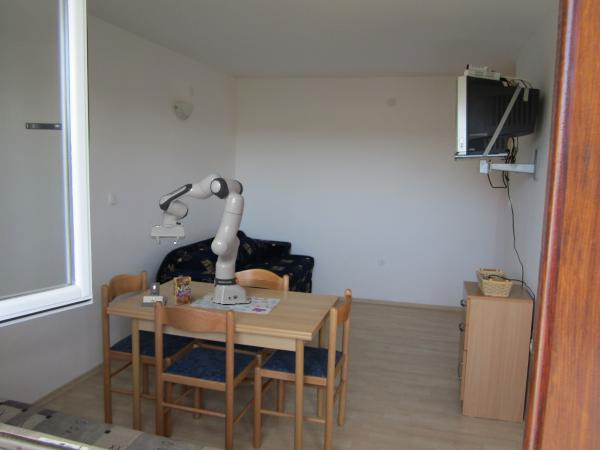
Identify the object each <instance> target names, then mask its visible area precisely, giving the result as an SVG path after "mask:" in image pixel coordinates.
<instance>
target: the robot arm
mask: <svg viewBox="0 0 600 450" xmlns="http://www.w3.org/2000/svg"><path fill="white" fill-rule="evenodd" d="M243 192H244V186H243V183H241V182H240V181H238V180H236V179H231V178H228V177H222V176H221V175H220V174H219V173H217V172H212V173H210V174H208V175H206V176H205V177H203V178H202V179H200V180H199V181H197V182H194V183H187V184H184V185H183V186H180V187H179V188H177V189H175V190H173V191H172V192H169V193H168V194H164V195H162V196H161V197H160V198H159V201H158V205H159V208H160V210H162V221H161V225H153V226H151V227H150V231H151V232H150V238H151V239H152V240H156V242H157V245H161V240H174V241H173V243H174V245H175V246H176V245H178V242H180V240H185V239H186V229H185V226H184V223H183V222H180V220H182V219H184V218H186V217H187V216H188V214H189V206H188V205H187V204H186V203H184V202H182V201H181V200H180V199H182V198H184V197H191V198H195V199H197V200H202V201H203V200H207V199H209V198H210V197H212V196H213V195H214V196H216V197H217V198H219V199H220V200H224V203H225V204H224V207H223V213H222V216H221V221H220V225H219V227H218V230H217V231H216V235H215V237H214V239H213V241H212V243H211V246H210V248H211V251H212V252H213V254H215V255H217V256H218V257H217V261H216V263H215V277H214V280H213V281H214V282H213V283H214V291H213V296H212V299H211V301H213V302H212V303H214V302H215V303H214V304H218V303H221V304H220V305H222V304H235V303H241V302H242V303H243V302H244V301H247V300H248V298H247V297H248V293H247V290H246V289H245V288H244V287H243V286H242V285H241V284H239V283H240V280H239V278H238V277H236V275H235V274H236V261H237V256H238V251H239V246H240V244H241V241H240V239H239V237H238V236H237V234H238V231H239V229H240V227H241V222H242V220H243V216H244V210H245V209H244V208H245V198H244V196H243V195H242V194H243Z"/></svg>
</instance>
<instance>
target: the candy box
mask: <svg viewBox="0 0 600 450" xmlns="http://www.w3.org/2000/svg"><path fill="white" fill-rule="evenodd" d="M191 287H192V277H190V276H188V275H187V276H177V277H175V276H174V277H173V297H172V304H173V305H174V306H179V305H180V306H181V305H190V304H191V295H192V294H191Z"/></svg>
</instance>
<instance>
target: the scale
mask: <svg viewBox="0 0 600 450" xmlns="http://www.w3.org/2000/svg"><path fill="white" fill-rule="evenodd" d="M156 301H162V302H163V303H164V305H165V306H166V303H167V296H163V295H159V296H150V295H143V299H142V301H141V308H143V307H144V308H152V307H153V308H155V307H154V303H155V302H156Z"/></svg>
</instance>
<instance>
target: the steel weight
mask: <svg viewBox="0 0 600 450" xmlns="http://www.w3.org/2000/svg"><path fill="white" fill-rule="evenodd" d="M160 284H161V283H160V282H150V284H149V285H150V286H149V296H160Z"/></svg>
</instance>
